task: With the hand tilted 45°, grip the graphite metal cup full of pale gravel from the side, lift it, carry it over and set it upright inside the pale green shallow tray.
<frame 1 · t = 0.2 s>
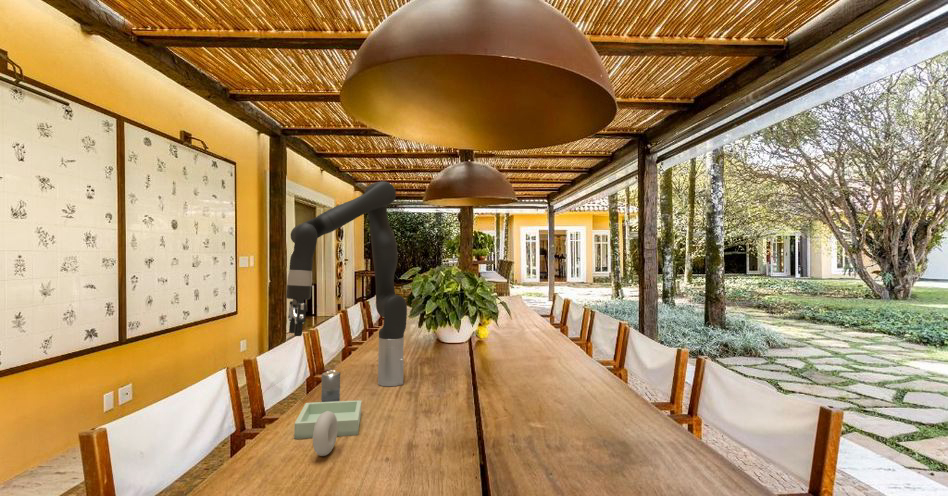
hand: (295, 334, 141), 22 cm above the table, tool pointing down, fingers open, 8 cm apart
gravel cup: (330, 405, 139), on the table
donut: (325, 454, 105), on the table
pale green shallow tray: (330, 425, 122), on the table
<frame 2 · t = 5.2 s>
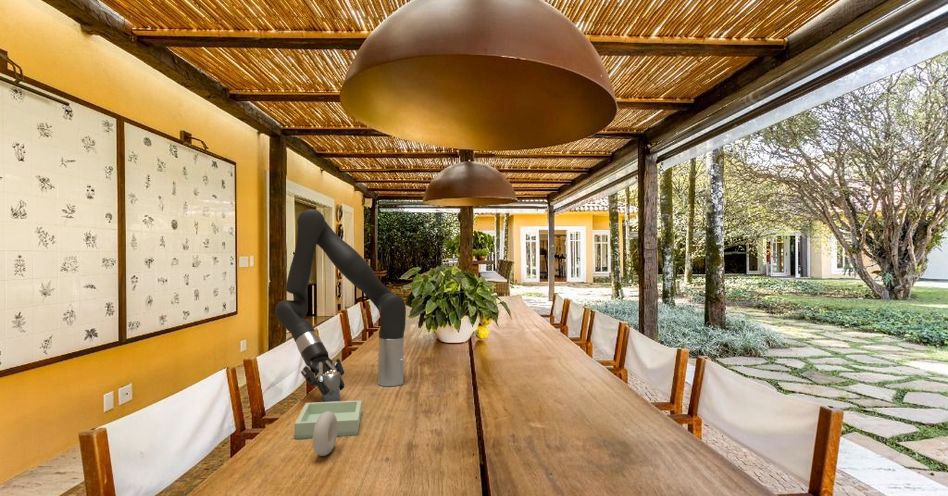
hand: (334, 391, 138), 5 cm above the table, tool tilted 45°, fingers closed on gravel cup, 5 cm apart
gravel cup: (330, 405, 139), on the table, touching gripper
everything else where it was.
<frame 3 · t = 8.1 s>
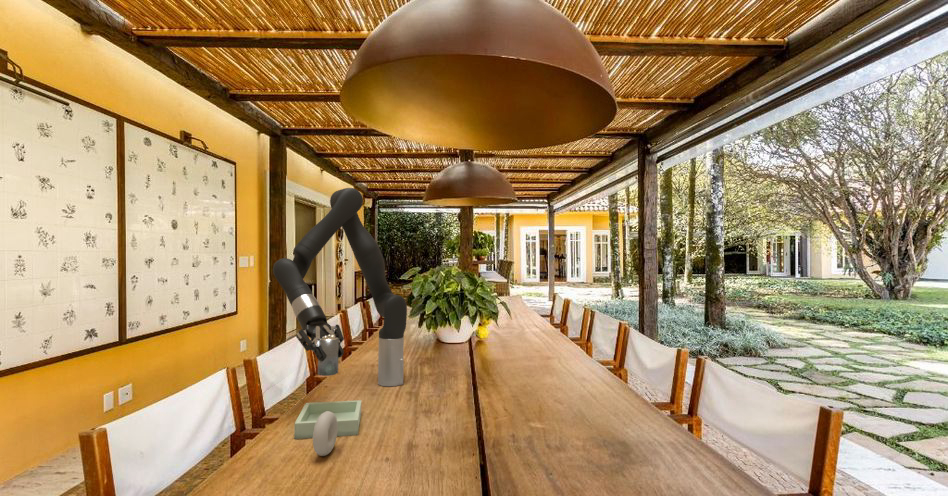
hand: (332, 357, 126), 18 cm above the table, tool tilted 45°, fingers closed on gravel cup, 5 cm apart
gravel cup: (328, 372, 127), point 14 cm above the table, touching gripper
everything else where it was.
when the fingers open (7 cm above the table, at t = 11.1 s): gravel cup drops 1 cm, resting on pale green shallow tray.
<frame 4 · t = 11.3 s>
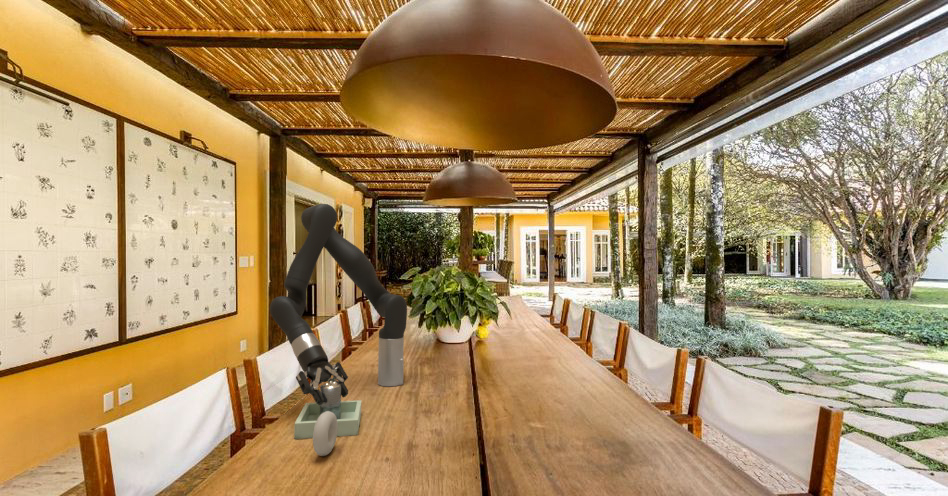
hand: (334, 399, 122), 8 cm above the table, tool tilted 45°, fingers open, 7 cm apart
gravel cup: (330, 421, 123), point 1 cm above the table, touching pale green shallow tray
everything else where it was.
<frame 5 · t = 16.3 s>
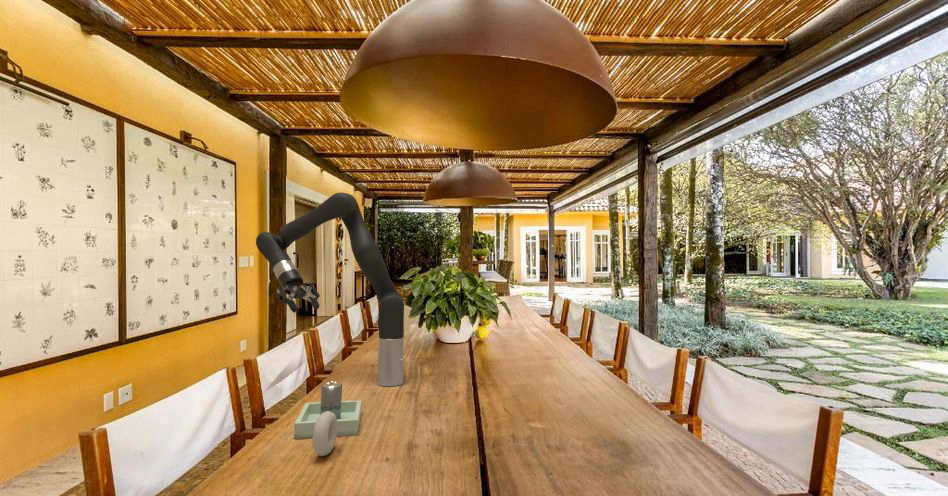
hand: (306, 309, 151), 29 cm above the table, tool tilted 45°, fingers open, 8 cm apart
nothing on the table moved.
at the end: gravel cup inside the target area on the pale green shallow tray (0.2 cm from its centre), point 1.1 cm above the pale green shallow tray's base; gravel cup tilted 2°; the gripper is holding nothing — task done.
